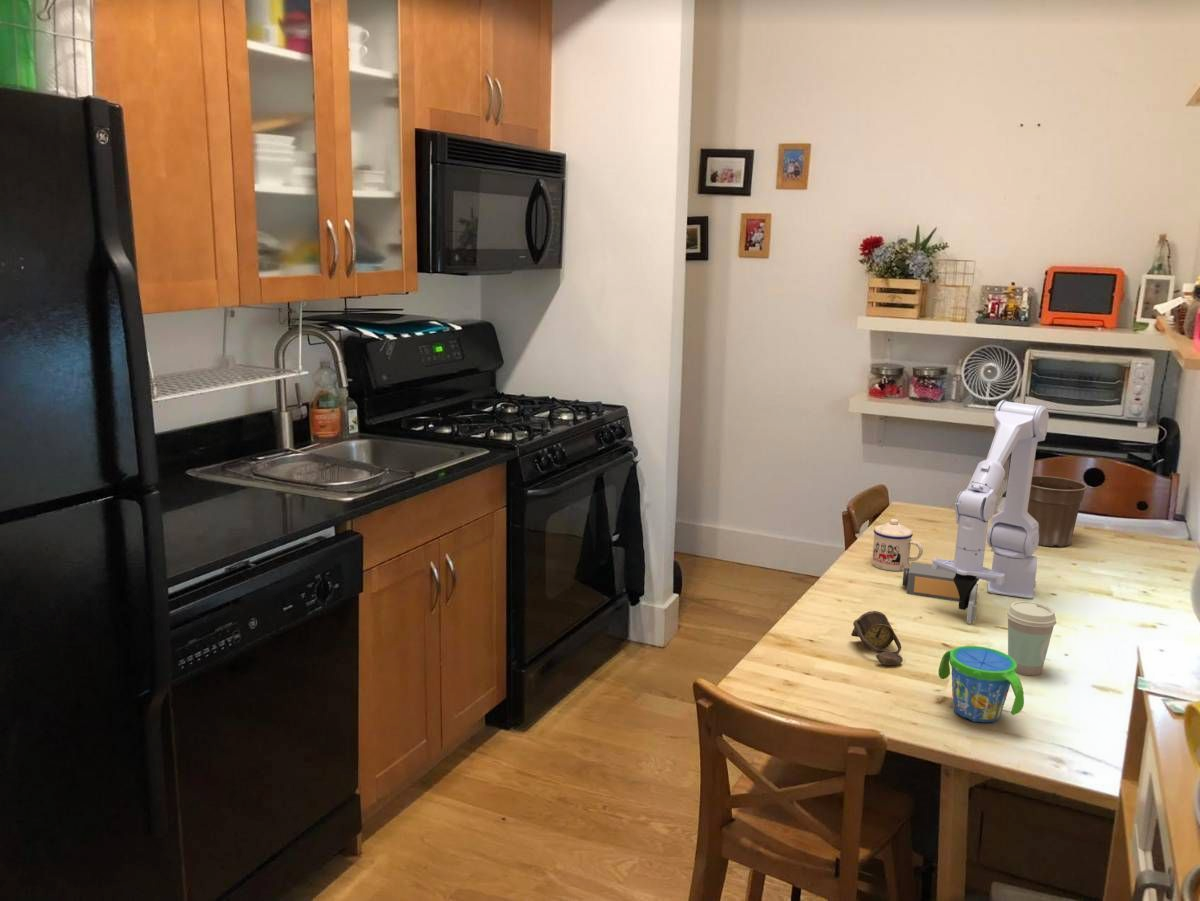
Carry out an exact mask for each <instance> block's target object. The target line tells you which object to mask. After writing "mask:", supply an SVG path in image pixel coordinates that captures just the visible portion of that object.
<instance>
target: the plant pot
mask: <svg viewBox="0 0 1200 901" xmlns="http://www.w3.org/2000/svg"><path fill="white" fill-rule="evenodd" d="M1087 489H1088V486H1087V485H1086V483H1084V482H1081V481H1077V480H1075V479H1071V478H1064V477H1058V476H1052V475H1051V476H1050V475H1049V476H1048V475H1032V481H1031V489H1030V496H1029V503H1028V510H1027V512H1028V513H1029V514H1030V515H1031V516H1032V517H1033V518H1034V519H1035V520H1036V521H1037V522H1038V523H1039V524H1038V525H1039V529H1038V534H1039V543H1038V546H1044V547H1045V546H1046V547H1054V546H1057V547H1060V548H1062V547H1067V546H1070V545H1071V544H1072V539H1073V534H1074V531H1075V527H1076V526H1075V525H1076V523H1077V519H1078V515H1079V509H1080V506H1081V503H1082V502H1083V498H1084V494H1085V491H1087Z"/></svg>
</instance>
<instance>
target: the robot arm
mask: <svg viewBox="0 0 1200 901" xmlns="http://www.w3.org/2000/svg"><path fill="white" fill-rule="evenodd" d="M1049 417H1050V415H1049V413H1048V409H1047V408H1046V406H1045V405H1036V404H1027V403H1020V402H1013V401H1007V400H1003V399H1002V400H1000V401H999V402H998V403H997V405H996V406H995V408H994V412H993V426H994V427H993V429H994V431H995V433H994V436H993V439H992V442H991V446H990V447H989V451H988V453H987V456H986V459H983V460H981V461H980V462H978V463H977V466H976V468H975V470H974V472H973V475H972V477H971V478H970V480H969V483H968V485H967V487H966V489H964V490H961V491H960V492H959V493H958V494H957V497H956V500H955V503H954V510H955V516H956V517H955V522H956V524H957V532H956V541H955V550H954V560H951V559H943V558H937V557H936V558H934V559H933V560H932V563H931V565H932V569H940V570H944V571H949V572H953V573H956V575H955V577H954V578H953V580H954V583H955V585H956V587H957V590H958V593H959V597H960V599H959V601H958V609H959V610H962V611H965V610H968V605H969V595H970V593H971V591H972V589H973V588H974V586H975V585H976V583H977V584H978V582H979V580H981V581H987V593H988V594H996V595H1002V596H1010V597H1018V598H1024V599H1031V600H1032V599H1034V593H1035V589H1036V585H1037V584H1036V583H1037V581H1036V575H1037V569H1038V568H1037V567H1038V557H1037V556H1036V555H1034V554H1035V553H1036V551H1037V549H1038V547H1039V545H1038V543H1039V534H1038V529H1039V525H1038V524H1039V523H1038V522H1037V521H1036V520H1035V519H1034V518H1033V517H1032V516H1031V515H1030V514H1029V513H1028V512H1027V510H1028V503H1029V496H1030V489H1031V481H1032V476H1033V474H1034V473H1033V472H1034V466H1035V459H1036V452H1037V447H1038V442H1043V441H1045V440H1046V436H1047V433H1048V424H1049V419H1050V418H1049ZM1010 455H1011V456H1010ZM1009 456H1010V463H1009V464H1010V465H1009V469H1008V470H1009V471H1008V477H1007V478H1008V479H1007V484H1006V491H1005V492H1006V493H1005V500H1004V505H1003V506H1004V507H1003V510H1001V511H999V512H997V513H996V514H994V512H995V509H996V503H997V500H998V496H997V493H998V491H999V489H1000V487H1001V485H1002V483H1003V480H1004V478H1005V475H1006V470H1005V469H1004V465H1005V464H1006V462H1007V460H1008V458H1009ZM989 521H990V524H989ZM988 525H989V526H988ZM986 542H987V543H986ZM987 544H988V546H989V547H990V548H991V549H990V551H991V552H993V556H992V564H991V565H992V566H991V568H990V569H989V568H988V567H985V566H984V560H985V553H986V552H985V550H986V545H987Z"/></svg>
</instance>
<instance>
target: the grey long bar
mask: <svg viewBox="0 0 1200 901" xmlns="http://www.w3.org/2000/svg"><path fill="white" fill-rule="evenodd" d="M978 588H979V583H978V582H977V583H976V585H975V586H974V588H973V589H972V591H971V595H970V600H969V605H968V608H967V614H966V616H967V617H966V624H972V621H974V622H975V621H976V618H977V609H978V605H976V604H977V597H978Z"/></svg>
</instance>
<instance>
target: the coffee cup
mask: <svg viewBox="0 0 1200 901" xmlns="http://www.w3.org/2000/svg"><path fill="white" fill-rule="evenodd" d="M1005 615H1006V617H1007V655H1009V656H1010V657H1011V658H1013V659H1014V660H1015V662H1016V663H1017V669H1016V674H1017V673H1018V674H1020V675H1025V676H1039V675H1040V674H1041V673H1042V671H1043V668H1044V664H1045V660H1046V657H1047V654H1048V649H1049V645H1050V642H1051V639H1052V638H1051V637H1052V634H1053V631H1054V626H1056V625H1057V617H1056V614H1055V611H1054V609H1053V608H1051V607H1049V606H1048V605H1045V604H1042V603H1040V602H1034V601H1023V600H1022V601H1021V600H1019V601H1015V602H1012V603H1011V604H1010V607H1009V608H1008V609H1007V612H1006V614H1005Z"/></svg>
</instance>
